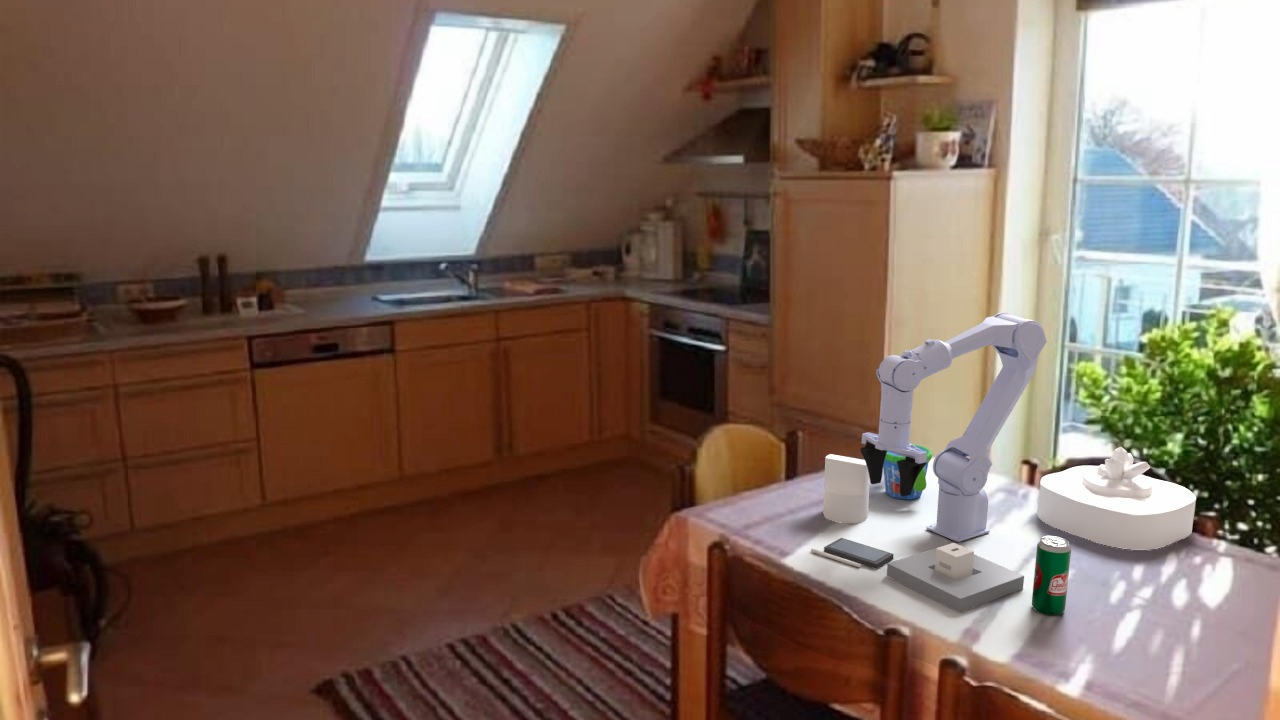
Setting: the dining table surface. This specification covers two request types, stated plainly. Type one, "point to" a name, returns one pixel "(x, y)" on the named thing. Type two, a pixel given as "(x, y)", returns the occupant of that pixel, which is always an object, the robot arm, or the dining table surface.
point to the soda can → (1051, 575)
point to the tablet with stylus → (855, 554)
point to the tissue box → (1116, 504)
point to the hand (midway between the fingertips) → (890, 489)
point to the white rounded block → (846, 489)
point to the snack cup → (894, 476)
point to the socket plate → (955, 594)
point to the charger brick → (954, 561)
